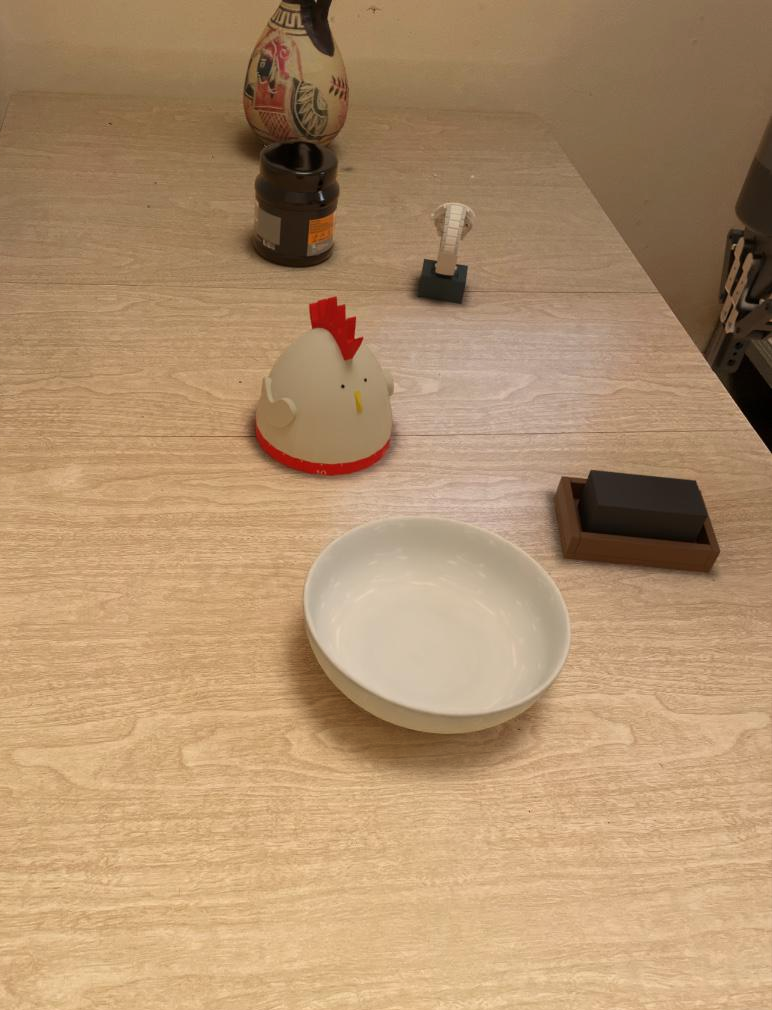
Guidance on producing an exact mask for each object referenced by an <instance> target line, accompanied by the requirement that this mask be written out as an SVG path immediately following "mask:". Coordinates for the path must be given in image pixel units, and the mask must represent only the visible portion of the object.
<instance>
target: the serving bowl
mask: <svg viewBox="0 0 772 1010" xmlns="http://www.w3.org/2000/svg"><path fill="white" fill-rule="evenodd" d="M301 604H302V613H303V620H304V621H303V622H304V627H305V631H306V635H307V639H308V642H309V645H310V648H311V650H312V653H313V654H314V657H315V658H316V660H317V662H318V664H319V665H320V667H321V669H322V670H323V671H324V673H325V674H326V676H327V678H329V680H330V681H331V682H332V684H334V686H335V688H337V689H338V690H339V691H340V692H341V693H342V694H344V695H345V696H346V697H347V698H348V699H349V700H350V701H351V702H353V703H354V704H356V705H357V706H358V707H359V708H360V709H363V710H364V711H365V712H368V713H369V714H371V715H372V716H374V717H377V718H379V719H381V720H383V721H385V722H387V723H390V724H392V725H395V726H398V727H401V728H405V729H409V730H413V731H416V732H417V731H418V732H424V733H431V734H445V735H446V734H447V735H448V734H449V735H450V734H466V733H472V732H478V731H482V730H483V731H484V730H486V729H490V728H493V727H496V726H498V725H501V724H504V723H506V722H508V721H510V720H512V719H513V718H515V717H517V716H519V715H521V714H522V713H524V712H525V711H527V710H528V709H530V708H531V707H532V706H533V705H534V704H535V703H536V702H538V701H539V700H540V699H541V698H542V697H543V696H545V693H547V691H548V690H549V689H550V688H551V686H553V684H554V683H555V681H556V680H557V679H558V677H559V676H560V675H561V673H562V671H563V669H564V667H565V665H566V663H567V661H568V658H569V656H570V655H569V654H570V651H571V646H572V640H573V639H572V638H573V637H572V636H573V635H572V622H571V617H570V613H569V609H568V606H567V604H566V601H565V599H564V596H563V594H562V592H561V591H560V589H559V587H558V585H557V584H556V583H555V581H554V579H553V578H552V577H551V576H550V574H549V573H548V572H547V571H546V570H545V569H544V568H543V566H542V565H541V564H540V563H539V562H538V561H537V560H536V559H534V558H533V557H532V556H531V555H530V554H529V553H527V552H526V551H524V549H522V548H521V547H519V546H517V544H515V543H513V542H511V541H510V540H508V539H506V538H505V537H503V536H501V535H499V534H497V533H495V532H493V531H490V530H488V529H486V528H483V527H481V526H478V525H476V524H472V523H468V522H465V521H461V520H457V519H454V518H448V517H442V516H434V515H418V514H415V515H412V514H411V515H397V516H388V517H384V518H378V519H375V520H371V521H368V522H367V521H366V522H364V523H361V524H359V525H357V526H354V527H353V528H350V529H348V530H346V531H345V532H343V533H342V534H340V535H338V536H337V537H335V538H334V539H333V540H331V541H330V542H329V543H328V544H327V545H326V546H324V548H323V549H322V550H321V551H320V552H319V553H318V554H317V556H316V557H315V559H314V560H313V562H312V563H311V565H310V567H309V568H308V571H307V573H306V576H305V578H304V584H303V588H302V603H301Z"/></svg>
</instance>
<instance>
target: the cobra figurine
mask: <svg viewBox="0 0 772 1010" xmlns="http://www.w3.org/2000/svg"><path fill="white" fill-rule="evenodd" d="M430 221H433V224H434V226H435V229H436V233H437V237H438V238H440V243H439V247H438V248H439V249H438V254H437V260H435V259H428V258H423V263H422V268H421V272H420V279H419V284H418V290H417V297H416V298H423V299H428V300H434V301H440V302H447V303H453V304H459V305H462V304H463V299H464V294H465V289H466V284H467V278H468V269H469V265H466V264H459V263H457V262H458V258H459V253H458V252H459V251H458V250H459V247H460V242H461V241H464V239H465V238H466V236H467V235H468V234H469V233H470V232H471V231H472V230H473V228H474V225H475V222H476V214H475V212H474V211H473V209H472V208H471V207H469V206H468V205H466V204H463V203H460V202H446V203H442V204H441V205H439V206H438V207H436V208H435V211H434V213H431V214H430Z"/></svg>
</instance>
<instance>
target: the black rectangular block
mask: <svg viewBox="0 0 772 1010" xmlns="http://www.w3.org/2000/svg"><path fill="white" fill-rule="evenodd" d="M586 479H587V481H586V484H585V486H584V489H583V492H582V495H581V497H580V500H579V503H578V505H577V506H578V511H579V516H580V522H581V527H582V532H588V533H597V534H607V535H617V536H627V537H637V538H647V539H657V540H667V541H676V542H686V543H694V542H695V540H696V538H697V536H698V534H699V532H700V530H701V528H702V526H703V524H704V522H705V520H706V518H707V516H708V515H709V514H708V515H707V512H708V511H707V512H706V509H705V506H704V503H703V500H702V497H701V494H700V491H699V490H700V488H699V485H698V482H697V480H695V479H686V478H676V477H675V478H674V477H668V476H667V477H666V476H655V475H647V474H637V473H626V472H617V471H608V470H607V471H606V470H596V469H590V471H589V473H588V476H587V478H586Z"/></svg>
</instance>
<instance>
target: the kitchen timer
mask: <svg viewBox="0 0 772 1010" xmlns="http://www.w3.org/2000/svg"><path fill="white" fill-rule="evenodd" d="M346 309H347V308H346V304H345V303H343V304H340V305H338V297H337V296H336V295H335V296H331V297H327V298H323V299H318V300H317V301H316V302H311V303H308V310H309V312H308V313H309V319H310V320H309V321H310V325H311V329H310V330H308V331H306V332H304V333H303V334H300V335H299V336H298V337H296V338H295V339H294V340H293V341H292V342H291V343H290V344H289V345H288V346H287V347H286V348H285V349H284V350H283V351H282V352H281V353H280V355H279V356H278V357H277V358H276V360H275V361H274V363H273V365H272V367H271V370H270V371H269V374H268V376H264V377H263V378H262V383H261V393H260V395H259V399H258V402H257V406H256V410H255V420H254V421H255V422H254V424H255V425H254V426H255V437H256V440H257V441H258V443H259V444H260V447H261V448H262V450H263V451H265V453H267V454H268V455H269V456H270V457H271V458H272V459H273V460H274V461H276V462H278V463H280V464H282V465H284V466H286V467H288V468H290V469H293V470H296V471H300V472H303V473H307V474H311V475H320V476H321V475H322V476H339V475H349V474H353V473H355V472H359V471H362V470H365V469H368V468H370V467H371V466H372V465H374V464H376V463H377V462H379V461H380V460H381V459H382V458H383V456H384V455H385V454H386V453H387V451H388V449H389V446H390V441H391V437H392V430H393V423H394V422H393V419H394V418H393V409H392V403H391V398H390V397H392V396H393V394H394V391H395V390H394V389H395V384H394V383H395V382H394V378H393V374H392V372H391V370H390V369H388V368H386V369H383V368H382V366H381V364H380V362H379V360H378V359H377V357H376V356H375V354H374V353H373V351H372V350H371V349H370V347H369V346H368V345H367V343H366V342H364V336H360V337H359V336H358V335H356V327H357V316H356V315H355V316H351V317H347V312H346V311H347V310H346Z"/></svg>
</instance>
